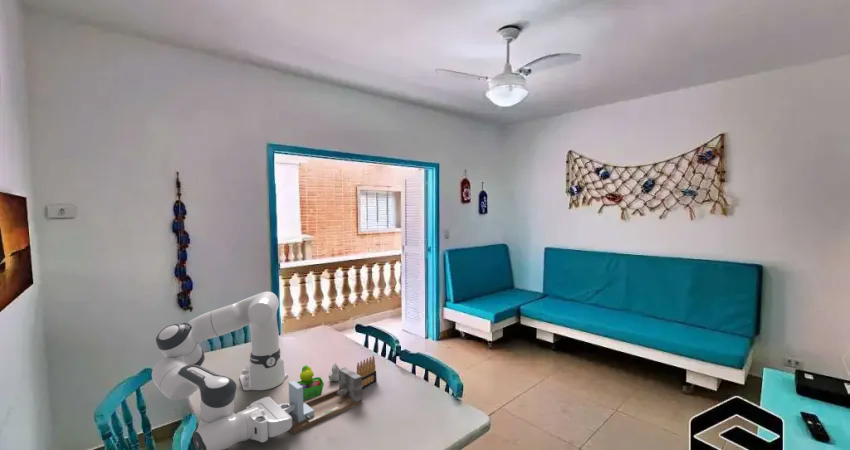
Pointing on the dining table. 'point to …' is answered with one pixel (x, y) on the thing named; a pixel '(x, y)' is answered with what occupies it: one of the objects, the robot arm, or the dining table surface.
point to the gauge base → (333, 400)
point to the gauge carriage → (299, 403)
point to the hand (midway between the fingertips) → (293, 405)
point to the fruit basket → (310, 383)
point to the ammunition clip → (367, 372)
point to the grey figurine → (334, 373)
